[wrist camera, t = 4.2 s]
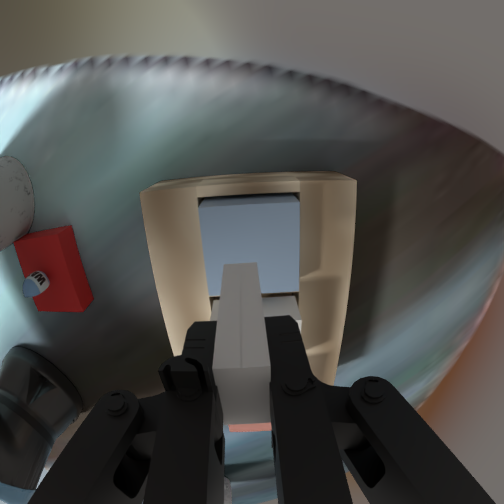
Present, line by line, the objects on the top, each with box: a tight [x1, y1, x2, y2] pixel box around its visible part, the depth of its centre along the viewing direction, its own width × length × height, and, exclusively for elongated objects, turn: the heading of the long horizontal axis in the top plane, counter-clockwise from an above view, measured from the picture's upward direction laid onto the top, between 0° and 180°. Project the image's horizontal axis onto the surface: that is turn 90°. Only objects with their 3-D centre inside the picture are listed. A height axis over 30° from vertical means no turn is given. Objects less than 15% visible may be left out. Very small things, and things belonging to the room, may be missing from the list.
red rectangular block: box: [13, 225, 94, 312], centre depth 22 cm, size 8×7×6 cm
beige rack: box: [139, 171, 357, 386], centre depth 24 cm, size 14×22×5 cm, turn 3°
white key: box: [210, 296, 302, 334], centre depth 20 cm, size 6×6×3 cm
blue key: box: [198, 193, 300, 296], centre depth 19 cm, size 6×6×3 cm
